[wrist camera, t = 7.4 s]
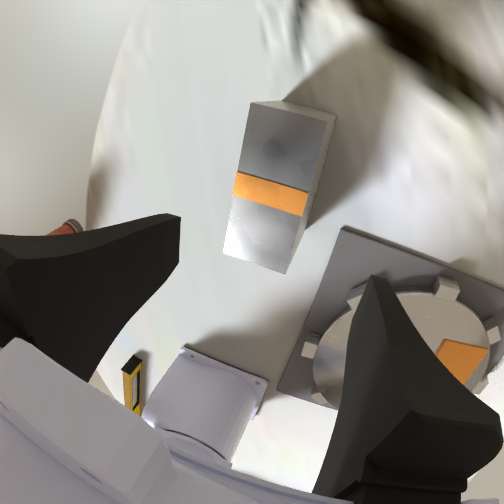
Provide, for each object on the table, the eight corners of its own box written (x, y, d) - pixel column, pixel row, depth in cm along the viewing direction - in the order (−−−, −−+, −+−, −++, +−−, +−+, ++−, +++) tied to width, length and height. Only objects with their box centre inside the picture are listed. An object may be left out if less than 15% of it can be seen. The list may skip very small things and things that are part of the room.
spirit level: (142, 448, 54) (135, 458, 51) (136, 444, 54) (129, 455, 51) (143, 358, 36) (130, 374, 34) (134, 353, 36) (121, 369, 34)
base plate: (277, 388, 30) (275, 391, 30) (340, 228, 21) (340, 230, 21) (430, 430, 27) (430, 433, 26) (536, 304, 18) (538, 307, 17)
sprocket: (355, 433, 29) (349, 466, 26) (264, 326, 26) (247, 362, 23) (507, 383, 21) (516, 417, 17) (466, 232, 17) (485, 264, 14)
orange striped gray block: (256, 214, 23) (222, 253, 17) (281, 100, 18) (250, 102, 13) (305, 229, 22) (284, 275, 17) (337, 115, 18) (327, 121, 13)
